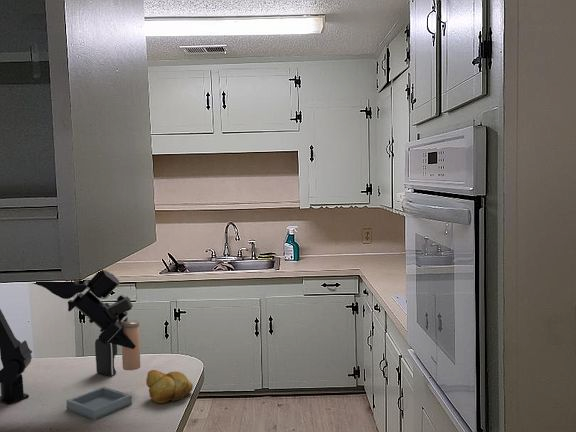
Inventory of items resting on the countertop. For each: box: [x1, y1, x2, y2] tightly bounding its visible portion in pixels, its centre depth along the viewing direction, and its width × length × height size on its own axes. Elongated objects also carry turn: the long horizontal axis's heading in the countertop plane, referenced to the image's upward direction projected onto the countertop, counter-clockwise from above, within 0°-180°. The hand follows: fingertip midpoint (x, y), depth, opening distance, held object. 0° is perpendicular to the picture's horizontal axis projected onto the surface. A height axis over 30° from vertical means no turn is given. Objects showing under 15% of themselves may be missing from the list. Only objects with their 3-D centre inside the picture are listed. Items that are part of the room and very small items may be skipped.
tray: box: [66, 386, 133, 421], centre depth 159 cm, size 12×12×2 cm
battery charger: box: [94, 337, 118, 377], centre depth 184 cm, size 7×4×11 cm, turn 58°
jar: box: [121, 320, 142, 371], centre depth 169 cm, size 5×5×13 cm
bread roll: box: [145, 369, 194, 404], centre depth 164 cm, size 13×10×8 cm
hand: (135, 344), depth 169 cm, fingers closed on jar, 5 cm apart
